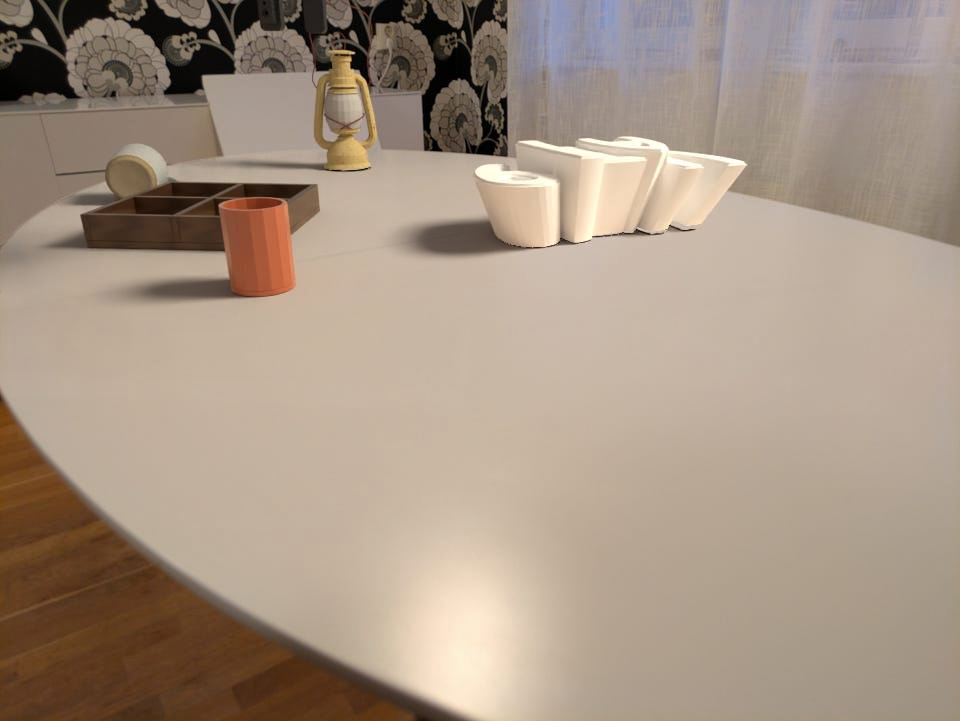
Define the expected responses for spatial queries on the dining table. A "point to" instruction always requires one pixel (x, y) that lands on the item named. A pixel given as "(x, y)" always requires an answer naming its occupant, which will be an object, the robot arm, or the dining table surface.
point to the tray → (186, 214)
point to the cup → (258, 245)
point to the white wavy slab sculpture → (600, 189)
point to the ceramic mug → (136, 170)
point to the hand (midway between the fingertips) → (296, 32)
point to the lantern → (343, 111)
